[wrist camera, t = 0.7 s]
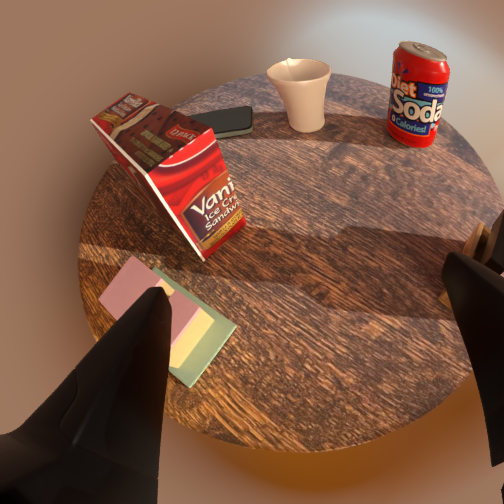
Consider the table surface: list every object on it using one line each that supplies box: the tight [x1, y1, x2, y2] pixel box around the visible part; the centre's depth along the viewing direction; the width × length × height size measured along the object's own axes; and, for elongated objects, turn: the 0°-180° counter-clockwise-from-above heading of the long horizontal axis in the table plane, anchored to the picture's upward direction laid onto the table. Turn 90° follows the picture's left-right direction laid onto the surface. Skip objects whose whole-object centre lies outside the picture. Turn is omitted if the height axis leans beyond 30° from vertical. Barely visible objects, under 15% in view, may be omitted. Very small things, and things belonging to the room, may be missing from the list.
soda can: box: [387, 41, 450, 148], centre depth 28 cm, size 8×8×15 cm
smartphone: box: [188, 106, 253, 138], centre depth 42 cm, size 8×2×15 cm
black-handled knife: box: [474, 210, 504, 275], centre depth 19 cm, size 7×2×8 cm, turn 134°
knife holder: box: [438, 222, 491, 311], centre depth 21 cm, size 9×4×4 cm, turn 134°
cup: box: [266, 58, 331, 133], centre depth 35 cm, size 9×9×10 cm
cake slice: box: [169, 290, 214, 368], centre depth 24 cm, size 6×3×4 cm, turn 144°
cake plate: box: [152, 267, 237, 388], centre depth 27 cm, size 8×12×1 cm, turn 54°
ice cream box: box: [91, 93, 246, 262], centre depth 30 cm, size 20×6×13 cm, turn 42°
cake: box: [98, 255, 175, 321], centre depth 26 cm, size 6×5×4 cm
